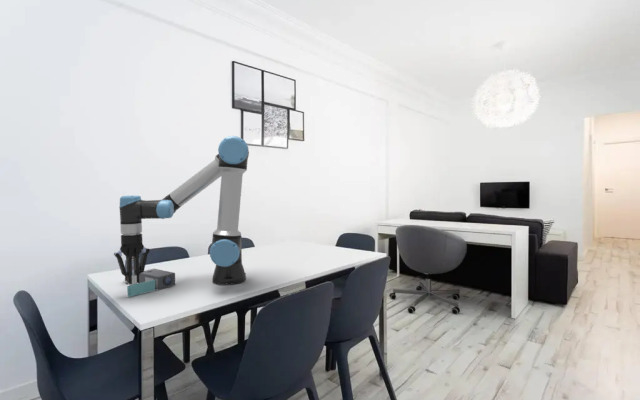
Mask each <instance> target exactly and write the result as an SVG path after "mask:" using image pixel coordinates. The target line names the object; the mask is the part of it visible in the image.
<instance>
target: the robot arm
mask: <svg viewBox="0 0 640 400" xmlns="http://www.w3.org/2000/svg"><path fill="white" fill-rule="evenodd" d="M217 152H218V154H216V155H215V158H214V160H212V161H211V162H210V163H208V164H207V165H206V166H204V167H203V168H201V170H199V171H198V172H196V173H195V174H194V175H193V176H191V177H190V178H188V179H187V180H185V181H184V182H183V183H181V185H179V186H178V187H176V188H175V189H174V190H172V191H171V192H170V193H168V194H167V195H166V196H165V197H163V198H162V199H154V200H152V199H151V200H145V199H144V200H143V199H142V197H141V196H140V195H122V196H121V197H120V198H119V221H120V234H121V235H120V247H119V250H118V251H117V252H114V253H113V256H114V257H115V258H116V260H117V264H118V266H119V269H120V273H121V275H122V276H123V277H125V276H127V282H126V283H127V284H128V285H133V284H138V282H139V275H140V273H143V272H144V271H145V268H146V263H147V258H148V255H149V252H150V251H151V249H150V248H148V247H145V246H144V244H143V233H142V232H143V225H142V223H143V221H142V219H143V220H145V219H147V220H149V219H150V220H151V219H152V220H153V219H154V220H155V219H157V220H158V219H161V220H164V219H165V220H166V219H171V218H172V217H173V216H174V214H175V213H176V212H177V210H179V209H180V208H181V207H183V206H184V205H186V204H187V203H188V202H189V201H191V200H192V199H193V198H194V197H196V196H197V195H198V194H200V193H201V192H203V190H205V189H206V188H208V187H209V186H210V185H212V184H213V183H214V182H215V181H217V180H218V179H220V188H219V189H220V190H219V200H218V201H219V202H218V210H217V211H218V213H217V226H216V229H215V230H214V231H213V232H212V239H211V246H210V249H209V257H210V259H211V262H213V263H214V265H215V267H214V272H213V274H212V278H211V279H212V280H211V281H212V283H213V284H214V285H218V286H219V285H220V286H228V285H237V284H241V283H243V282H245V281H246V280H247V275H246V272H245V268H244V265H243V262H242V261H243V257H242V250H243V248H242V239H243V236H242V233H241V231H239V220H240V210H241V197H242V187H243V186H242V185H243V177H244V176H243V175H244V174H245V173H246V172H247V170H248V161H249V155H250V150H249V146H248V144H247V142H246V141H245V140H244V139H243V138H241V137H239V136H236V135H230V136H229V135H228V136H227V137H224V138H223V139H222V140H221V141H220V143H219V144H218V149H217ZM141 253H142V254H141ZM140 254H141V257H140ZM123 255H124V256H125V260H126V264H127V272H126V269H125V262H124V260H123V257H122V256H123ZM132 257H133V260H134V274H133V275H132ZM139 258H140V267H139Z"/></svg>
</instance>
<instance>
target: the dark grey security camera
mask: <svg viewBox="0 0 640 400" xmlns="http://www.w3.org/2000/svg"><path fill="white" fill-rule="evenodd" d="M155 279H158V289H157V290H158V291H160V290H162V289H166V288H169V287H174V286H176V273H175V272H173V271H169V270H163V269H159V268H151V269H146V270H144V272H143V273H140V275H139V282H138V283H142V282H146V281H150V280H155ZM138 283H137V284H138ZM157 290H156V291H157Z"/></svg>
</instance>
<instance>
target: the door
mask: <svg viewBox="0 0 640 400" xmlns="http://www.w3.org/2000/svg"><path fill="white" fill-rule="evenodd" d="M126 287H127V288H126V289H127V291H126V292H127V297H129V298H130V297H134V296H137V295H138V296H139V295H140V294H144V293H145V294H146V293H149V292H152V291H157V289H158V279H155V280H150V281H146V282H142V283H137V284H133V285H130V284H128V285H127V286H126Z"/></svg>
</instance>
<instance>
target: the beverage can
mask: <svg viewBox="0 0 640 400" xmlns="http://www.w3.org/2000/svg"><path fill="white" fill-rule="evenodd" d="M140 262H141V257H139V267H140ZM124 266H125V269H126V272H127V264H126V259H125V260H124ZM133 274H134V260H133V257H132V275H133ZM124 282H126V283H128V282H127V276H124Z"/></svg>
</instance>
